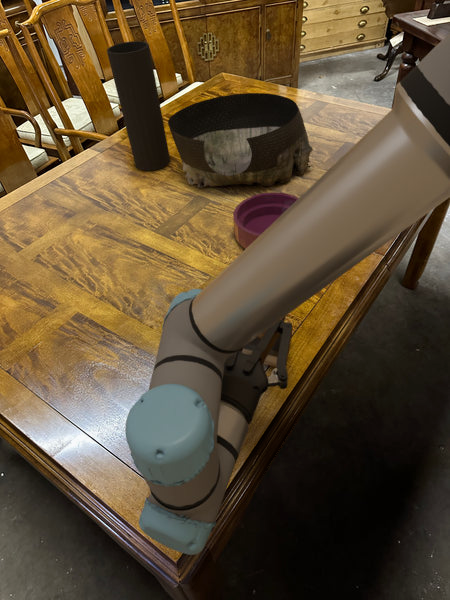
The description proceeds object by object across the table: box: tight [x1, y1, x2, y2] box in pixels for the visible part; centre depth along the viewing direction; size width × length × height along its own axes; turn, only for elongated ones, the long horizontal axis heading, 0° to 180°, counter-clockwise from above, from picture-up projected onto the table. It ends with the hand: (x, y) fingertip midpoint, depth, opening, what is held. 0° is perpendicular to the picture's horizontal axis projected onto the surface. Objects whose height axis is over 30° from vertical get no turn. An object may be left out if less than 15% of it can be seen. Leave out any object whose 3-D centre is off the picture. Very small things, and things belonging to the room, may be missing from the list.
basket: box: [167, 92, 314, 189], centre depth 108 cm, size 28×35×16 cm
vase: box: [106, 40, 171, 172], centre depth 112 cm, size 10×10×30 cm
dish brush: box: [242, 331, 282, 368], centre depth 65 cm, size 6×5×16 cm
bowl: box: [232, 191, 300, 250], centre depth 92 cm, size 17×17×6 cm
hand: (274, 289), depth 67 cm, fingers closed on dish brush, 2 cm apart
